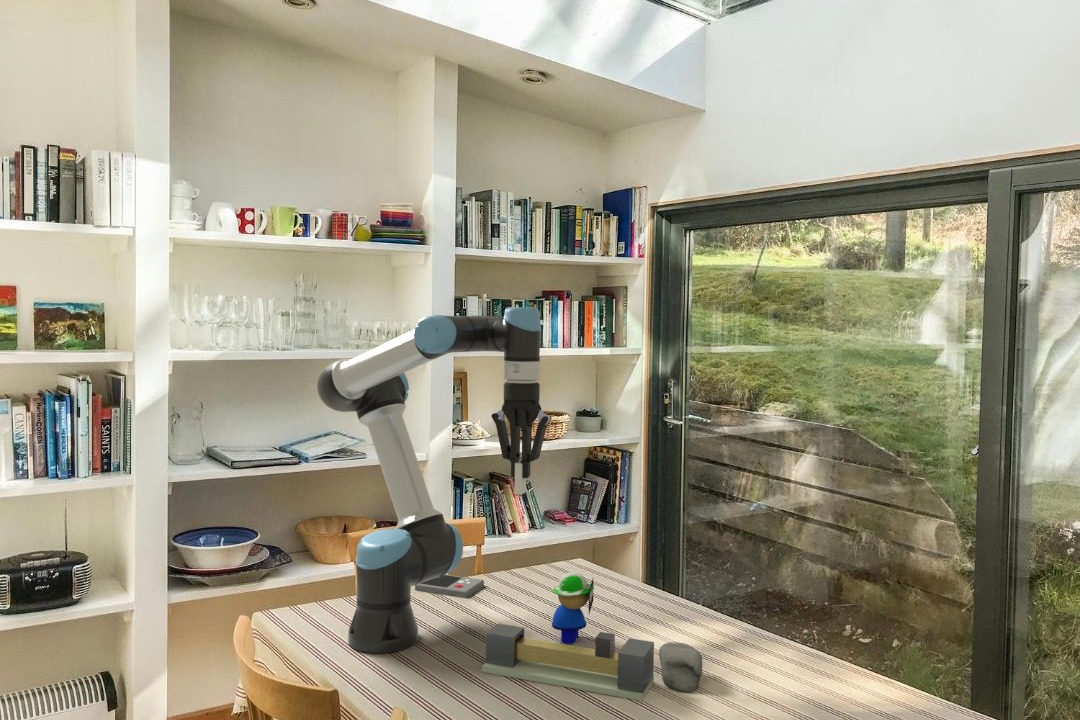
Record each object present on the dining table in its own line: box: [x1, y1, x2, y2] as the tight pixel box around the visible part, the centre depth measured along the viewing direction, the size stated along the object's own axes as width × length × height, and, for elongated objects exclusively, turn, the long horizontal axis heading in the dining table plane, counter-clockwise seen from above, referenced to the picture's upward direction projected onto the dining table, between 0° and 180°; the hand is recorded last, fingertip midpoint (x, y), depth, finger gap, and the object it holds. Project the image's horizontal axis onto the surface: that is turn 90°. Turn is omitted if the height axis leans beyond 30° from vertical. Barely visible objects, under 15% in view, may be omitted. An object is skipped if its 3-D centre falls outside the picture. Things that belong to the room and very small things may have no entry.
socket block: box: [617, 637, 655, 694], centre depth 164 cm, size 5×8×7 cm, turn 159°
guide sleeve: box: [485, 623, 525, 668], centre depth 174 cm, size 6×6×6 cm
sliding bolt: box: [515, 631, 618, 676], centre depth 169 cm, size 28×3×7 cm, turn 69°
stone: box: [658, 641, 703, 694], centre depth 169 cm, size 9×9×10 cm
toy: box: [551, 571, 595, 645], centre depth 189 cm, size 9×9×15 cm
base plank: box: [481, 660, 655, 702], centre depth 170 cm, size 33×9×1 cm, turn 69°
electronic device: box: [414, 574, 485, 599], centre depth 223 cm, size 10×2×15 cm
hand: (520, 493), depth 179 cm, fingers closed
